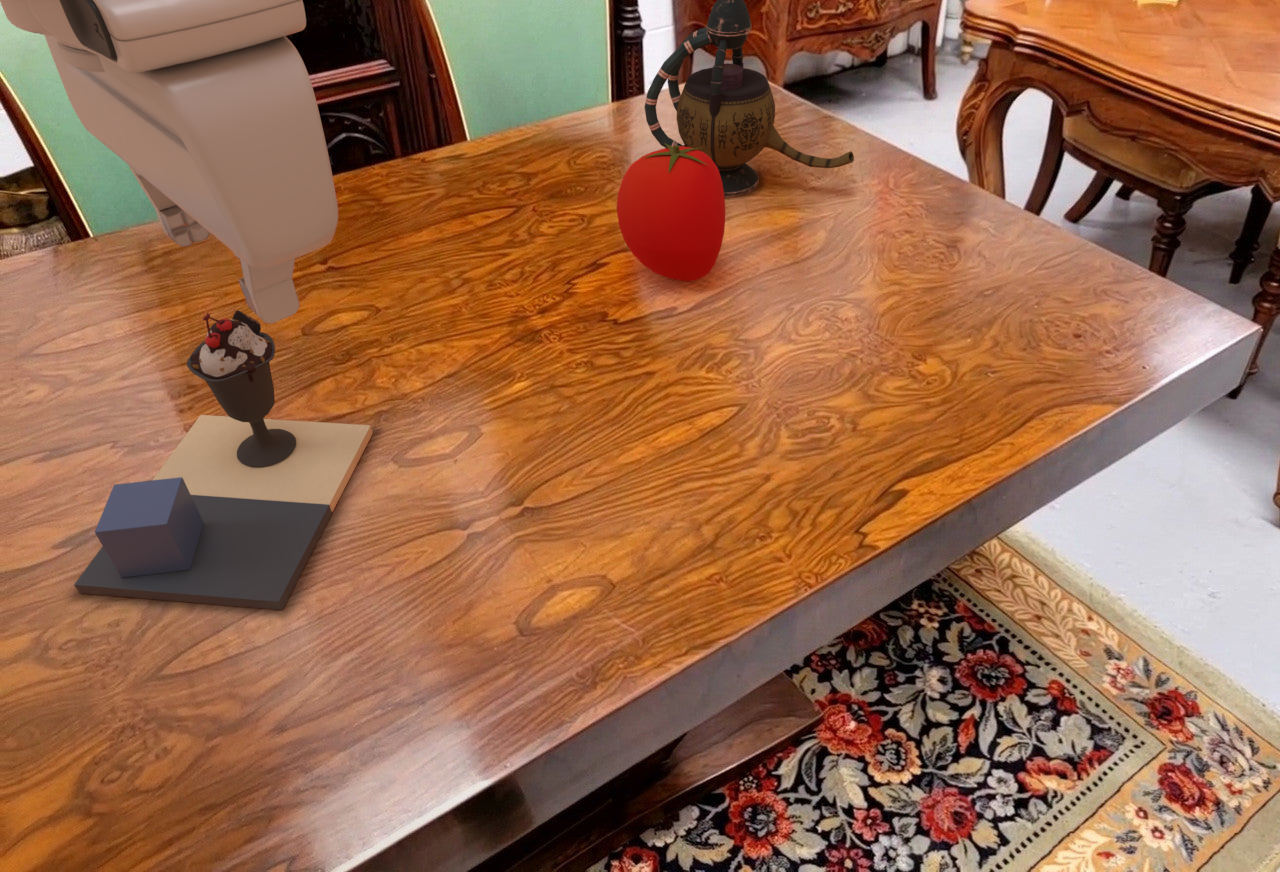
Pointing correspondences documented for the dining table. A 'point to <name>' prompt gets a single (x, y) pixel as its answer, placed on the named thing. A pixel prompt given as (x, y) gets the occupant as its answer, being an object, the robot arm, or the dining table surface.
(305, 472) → the board
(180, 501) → the blue block
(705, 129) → the teapot
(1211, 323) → the dining table surface
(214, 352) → the sundae
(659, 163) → the tomato
